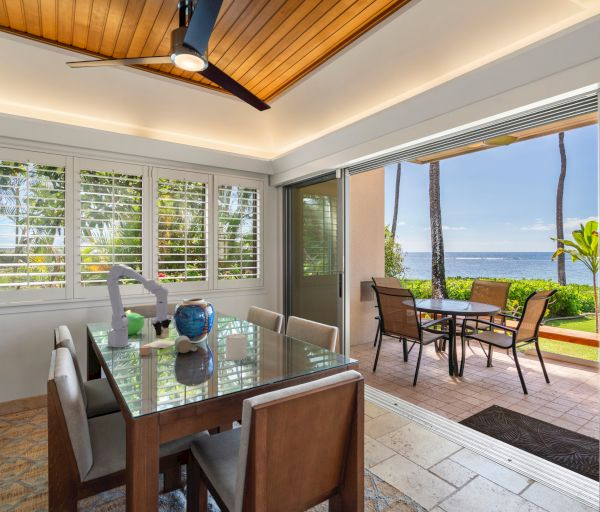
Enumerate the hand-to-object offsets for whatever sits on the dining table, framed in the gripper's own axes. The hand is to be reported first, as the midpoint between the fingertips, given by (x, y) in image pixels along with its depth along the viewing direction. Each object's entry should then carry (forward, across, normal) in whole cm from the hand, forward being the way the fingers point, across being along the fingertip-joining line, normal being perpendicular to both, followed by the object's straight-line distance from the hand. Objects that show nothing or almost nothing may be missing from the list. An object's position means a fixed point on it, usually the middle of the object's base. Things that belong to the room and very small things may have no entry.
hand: (161, 334), depth 200 cm
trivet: (+6, 0, 0) cm, 6 cm away
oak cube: (+2, 0, 0) cm, 2 cm away
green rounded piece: (+6, +15, +34) cm, 38 cm away
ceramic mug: (+6, -8, -20) cm, 22 cm away
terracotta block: (+6, -19, -4) cm, 20 cm away
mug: (+6, -10, -49) cm, 50 cm away
